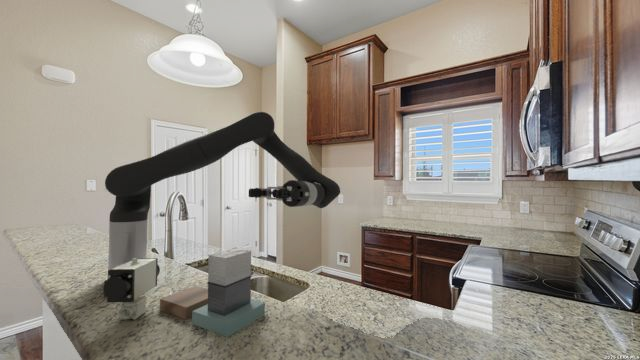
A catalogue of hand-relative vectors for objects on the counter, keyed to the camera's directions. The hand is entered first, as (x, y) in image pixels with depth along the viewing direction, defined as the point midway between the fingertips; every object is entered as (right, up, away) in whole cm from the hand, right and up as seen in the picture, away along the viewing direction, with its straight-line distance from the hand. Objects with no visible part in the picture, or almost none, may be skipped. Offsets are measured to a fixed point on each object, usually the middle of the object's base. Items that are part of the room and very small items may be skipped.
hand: (263, 193), depth 65 cm
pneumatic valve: (-26, -26, -9) cm, 37 cm away
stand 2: (-5, -25, -10) cm, 28 cm away
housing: (-5, -23, -9) cm, 25 cm away
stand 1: (-15, -25, -4) cm, 30 cm away
